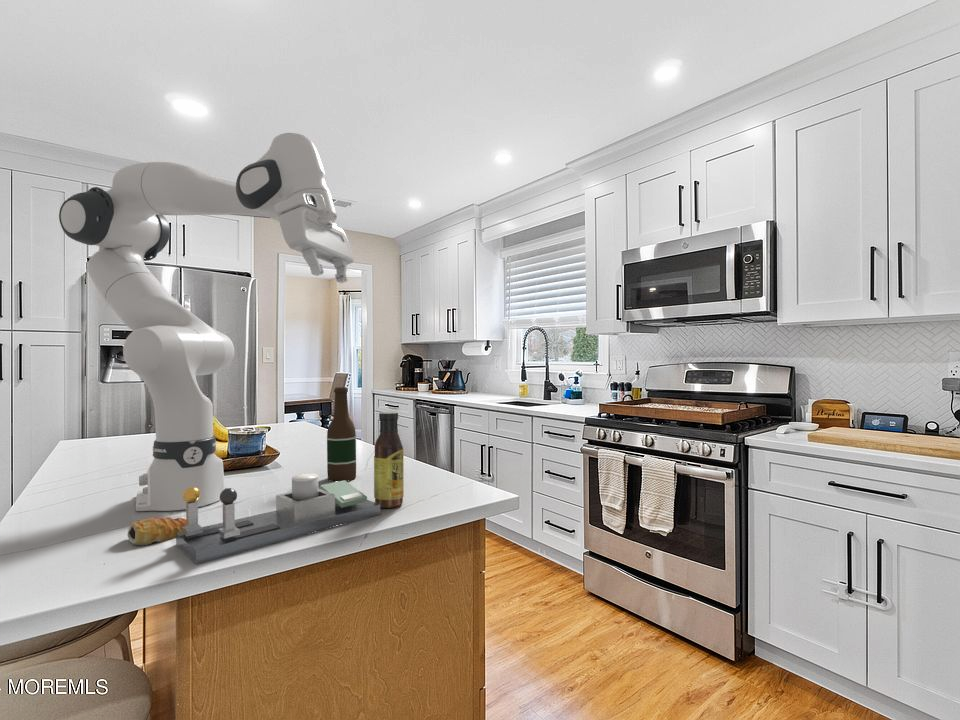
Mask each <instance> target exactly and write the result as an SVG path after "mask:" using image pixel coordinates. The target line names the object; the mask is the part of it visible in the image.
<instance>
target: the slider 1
mask: <svg viewBox="0 0 960 720" xmlns="http://www.w3.org/2000/svg"><path fill="white" fill-rule="evenodd" d="M200 495H201V493H200V490H199V489H198V488H196V487H189V488H187V489H186V490H185V491H184V493H183V499H184V500H185V501H186V509H185V517H186V518H185V519H186V526H184V527H182V532H183V533H184V534H185V535H186V536H191V535H196V534H200V533H203V528H202V527H203V526H201V525H200V524H199V507H198V502H197V500H198V499H199V498H200Z"/></svg>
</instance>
